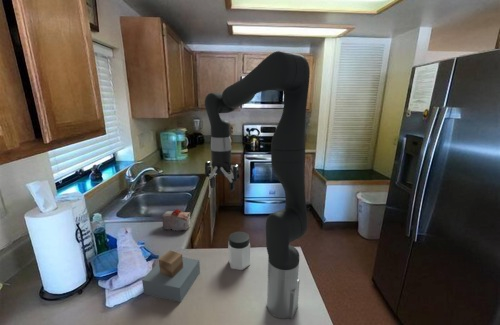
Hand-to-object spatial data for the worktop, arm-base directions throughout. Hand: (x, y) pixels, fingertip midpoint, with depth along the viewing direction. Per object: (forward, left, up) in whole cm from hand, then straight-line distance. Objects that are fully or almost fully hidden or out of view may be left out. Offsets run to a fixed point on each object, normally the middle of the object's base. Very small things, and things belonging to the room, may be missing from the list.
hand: (222, 188), depth 92 cm
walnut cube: (+8, +22, -24) cm, 34 cm away
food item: (+33, -8, -30) cm, 46 cm away
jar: (-8, +2, -30) cm, 31 cm away
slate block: (+8, +22, -30) cm, 38 cm away
